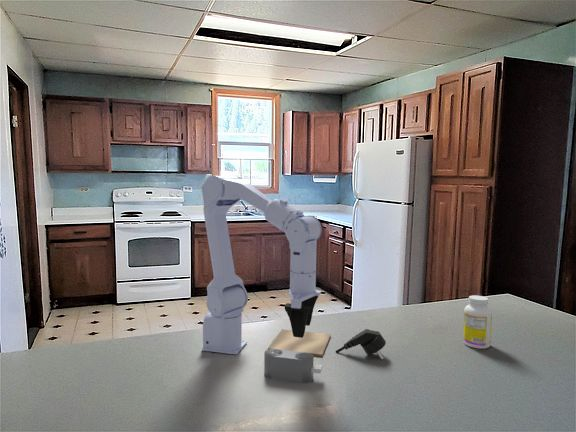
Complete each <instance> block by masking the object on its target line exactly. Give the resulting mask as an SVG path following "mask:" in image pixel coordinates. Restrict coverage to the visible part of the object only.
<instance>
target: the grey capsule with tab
mask: <svg viewBox="0 0 576 432" xmlns="http://www.w3.org/2000/svg"><path fill="white" fill-rule="evenodd" d="M263 354H264V356H263V357H264V359H263V360H264V361H263V362H264V365H263V367H264V368H263V369H264V370H263V371H264V372H263V373H264V377H265V378H268V379H273V380H279V381H288V382H294V383H295V382H296V383H302V384H303V383H304V384H305V383H306V384H307V383H311V382H312V381H313V380H314V374H319V375H320V374H321V373H322V371H323V364H315V363H314V357H315V356H313V355H312V354H310V353H306V352H297V351H289V350H280V349H269V350H268V349H266V350H265V351H264V353H263Z"/></svg>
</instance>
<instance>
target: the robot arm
mask: <svg viewBox="0 0 576 432" xmlns="http://www.w3.org/2000/svg"><path fill="white" fill-rule="evenodd" d="M201 193H202V198H203V199H202V200H203V216H204V217H203V218H204V224H205V230H206V236H207V243H208V248H209V249H208V250H209V255H210V261H211V267H212V275H213V278H212V279H211V281H210V282H209V284H208V285H207V286H206V291H207V294H206V300H205V301H206V308H207V310H208V311H207V313H205V316H204V318H203V322H202V347H201V350H202V351H203V352H212V353H213V352H214V353H221V354H228V355H238V353H239V352H240V351H241V350H242V349H243V348H244V347H245V346H246V345H247V343H248V341H247V340H242V335H243V333H242V329H243V327H242V325H243V324H242V321H243V320H242V318H243V317H242V316H243V315H242V313H244V308H245V306H247V304H248V300H249V294H248V291H247V290H246V288H245V285H244V281H243V278H241V277H240V276H239V275H237V274H236V271H235V265H234V264H235V263H234V257H233V252H232V251H233V250H232V246H231V239H230V233H229V227H228V221H227V220H228V219H227V213H228V212H229V210H230V209H231V208H232V207H233V206H235V205H236V204H237V203H238V202H240V201H241V200H242V201H244V202H245V203H247V204H249V205H250V206H252V207H254V208H255V209H258V210H259V211H261V212H263V213H264V218H265V220H266V221H267V222H268V223H269V224H271V225H273V226H274V227H276V228H277V229H279V230H280V231H281V232H283V233H285V236H286V239H287V241H288V243H289V249H290V257H289V258H290V265H289V266H290V267H289V270H290V271H289V273H290V274H289V278H290V279H289V290H288V294H289V297H290V303H288V302H287V303H285V305H284V310H285V312H286V314H287V316H288V318H289V322H290V326H291V327H290V328H291V330H292V332H293V336H294V337H300V338H303V336H304V333H305V332H306V326H307V327H310V325H311V322H312V317H313V312H314V309H315V306H316V303H317V300H318V298H319V297H320V296H321V295H322V291H321V290H318V289H316V284H317V243H318V242H317V241H318V240H319V238H320V237H321V235H322V232H323V231H322V230H323V229H322V224H321V222H320V221H319V219H317V218H316V216H314V215H305V214H304V211H302V210H297V209H296V208H294V207H293V206H291V205H289V204H288V203H289V201H288V200H286V199H284V198H283V199H279V198H277V199H273V200H272V199H271V198H269V196H267V195H265V194H264V193H262V191H260V190H259V189H258V188H256V187H254V185H252V184H251V183H250V182H249V180H248V179H245V178H243V177H242V176H240V175H232V176H230V175H216V174H213V175H212V174H211V175H209V176H208V177H206V179H205V181H204V182H203V184H202V185H201Z"/></svg>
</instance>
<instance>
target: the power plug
mask: <svg viewBox="0 0 576 432" xmlns="http://www.w3.org/2000/svg"><path fill="white" fill-rule="evenodd" d="M386 344H387V341H386V339H385V338H384V337H383V336H382V334H381V332H380V331H378V330H373V329H372V330H371V329H368V328H366V329H363V330H362V331H360V332H359V333H357V334H355V335H354V336H353V337H352V338H350V339H349V340H347V341H346V342H345V343H344V344H343V346H341V347H340V348H338V349H337V350H335V354H338V353H340V352H341V351H343V350H349V349H352V348H354V347H357V346H359V345H360V347H361V348H362V350H363V351H364V352H365V353H366V355H367V356H371V355H373V354H376V355H377V356H378V358H379V359H380V360H384V357H383V355H384V353H383V351H382V349H383V348H384V347H385V346H386Z"/></svg>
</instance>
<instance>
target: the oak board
mask: <svg viewBox="0 0 576 432" xmlns="http://www.w3.org/2000/svg"><path fill="white" fill-rule="evenodd" d="M330 338H331V334H330V333H322V332H321V333H320V332H311V331H305V333H304V336H303V338H300V337H294V336H293V332H292V329H281V330H280V331H279V332H278V333H277V335H276V336H275V338H273V340H272V341H271V343H270V344H269V346H268V347H267V350H269V349H280V350H289V351H297V352H306V353H310V354H312V355H313V356H314V357H321V358H323V357H324V353H325V351H326V348H327V346H328V343H329V342H330Z"/></svg>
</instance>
